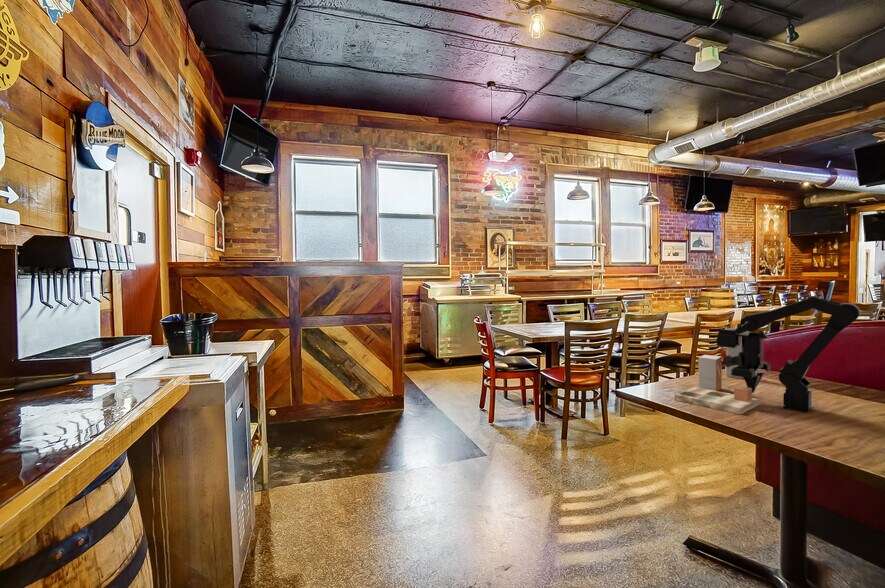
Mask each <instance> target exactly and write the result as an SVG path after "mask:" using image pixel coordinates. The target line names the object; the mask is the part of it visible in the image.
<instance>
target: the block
mask: <svg viewBox="0 0 885 588" xmlns="http://www.w3.org/2000/svg"><path fill="white" fill-rule="evenodd" d="M733 394H734V399H736V400H741V401H746V402H748V401H750V400H752V398H753V393H752V388H748V387H747V386H741V385H738V386H736V387H734V388H733Z"/></svg>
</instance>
